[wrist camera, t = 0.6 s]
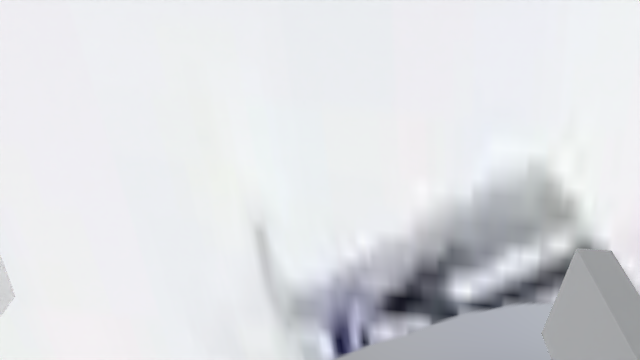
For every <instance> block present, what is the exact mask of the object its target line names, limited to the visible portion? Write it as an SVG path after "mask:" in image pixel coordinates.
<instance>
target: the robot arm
mask: <svg viewBox="0 0 640 360" xmlns="http://www.w3.org/2000/svg"><path fill="white" fill-rule="evenodd" d="M14 297H15V294H14V292H13V289H12V286H11V283H10V280H9V278H8V275H7V272H6V269H5V266H4V264H3V261H2V258H1V255H0V317H1V315H2V314H3V313H4V311H5V310H6V308H7V307H8V306H9V304H10V303H11V301H12V300H13V298H14ZM542 336H543V339H544V341H545V344H546V346H547V349H548V352H549V354H550V357H551V359H552V360H640V295H639V294H638V292H637V291H636V289H635V287H634V286H633V284H632V283H631V281H630V279H629V278H628V276H627V275H626V273H625V272H624V270H623V268H622V267H621V265H620V264H619V262H618V260H617V259H616V257H615V256H614V254H613V252H612V251H607V250H593V249H579V248H577V249H576V251H575V253H574V256H573V258H572V261H571V263H570V266H569V268H568V270H567V273H566V275H565V278H564V280H563V283H562V285H561V287H560V290H559V292H558V295H557V297H556V299H555V302H554V304H553V307H552V309H551V312H550V314H549V316H548V319H547V321H546V324H545V326H544V329H543V331H542Z"/></svg>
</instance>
